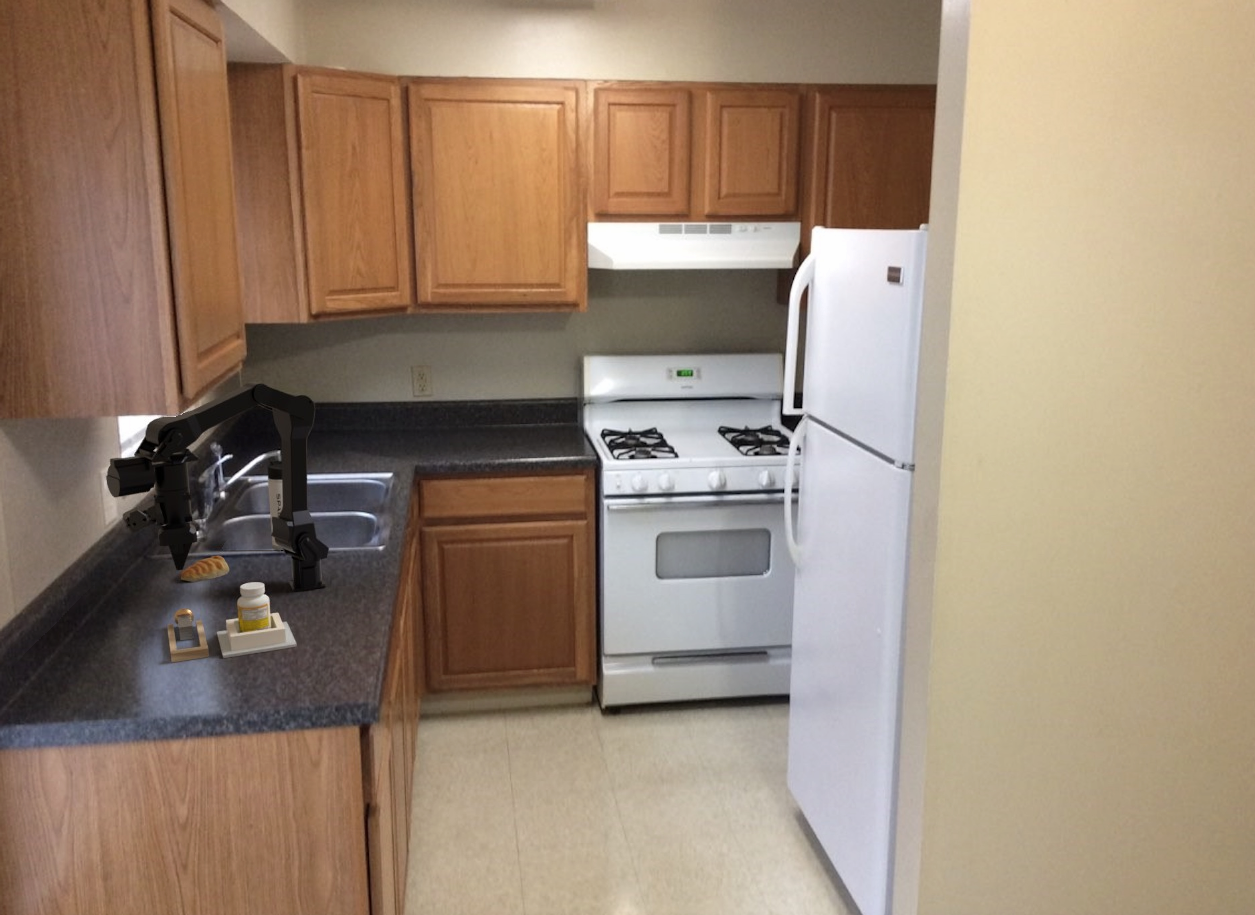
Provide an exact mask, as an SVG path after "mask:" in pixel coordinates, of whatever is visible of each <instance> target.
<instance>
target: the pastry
mask: <svg viewBox="0 0 1255 915" xmlns="http://www.w3.org/2000/svg"><path fill="white" fill-rule="evenodd" d="M229 572H230V567H229V565H228V563H227V562H226V560H225V558H224V557H222V556H221V555H215V556H213V555H212V556H210V557H208V558H204V559H202V558H201V559H200V560H199V559H198V560H197V561H195V562H194V563H193V564H191V565H189V566H187V568H185V569H184V570H181V574H180V580H182V581H187V582H191V583H193V582H194V583H195V582H196V583H197V582H201V581H208V580H211V579H214V578H215V579H216V578H219V577H222V576H226V575H228V573H229Z"/></svg>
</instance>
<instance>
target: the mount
mask: <svg viewBox="0 0 1255 915" xmlns="http://www.w3.org/2000/svg"><path fill="white" fill-rule="evenodd" d="M195 625H196V626H195V627H196V631H197V636H198V642H199V646H193V647H189V648H181V649H178V648H177V642H176V640H177V639H176V634H175V627H174V624H173V623H172V624H167V626H166V627H167V636H168V642H169V643H168V644H169V650H170V659H171V663H177V662H183V661H190V660H196V659H197V660H198V659H204V658H209V657H210V652H209V651H210V650H209V645H208V643H207V637H206V634H205V628H204V625H203V619H200V620H199V619H198V620H195Z"/></svg>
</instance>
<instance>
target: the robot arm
mask: <svg viewBox="0 0 1255 915" xmlns="http://www.w3.org/2000/svg"><path fill="white" fill-rule="evenodd" d="M257 406H260V407H261V408H264V409H267V410H269V411H272V415H273V421H274V424H275V428H276V429H277V431H278V433H279V436H280V439H281V461H282V497H283V507H282V510H281V513H280V515H279V517H272V525H273V532H272V531H271V535H270V536H271V537H272V536H273V537H274V538H275V542H276V544H278V545H279V546H280V547H281V548H282V549H283V551H282V552H283V553H284V554H285V555H287V556H290V558H291V574H292V575H291V576H292V579H289V580H288V583H289V585H290V587H291V589H292V591H293V592H298V591H305V590H312V589H314V590H315V589H320V588H322V589H323V588H326V587H327V584H326V581H325V580H324V579H323V575H322V561H321V560H324V559H327V558H328V554H329V551H330V548H329V546H327V545H326V544H324V543H323V542H322V541H321V540H319V539H318V537H317V531H316V525H315V521H314V520H313V517H312V515H311V513H310V510H309V508H308V506H309V505H308V503H309V502H308V436H309V435H310V433H311V430H312V428H313V427H314V423H315V414H316V404H315V402H314V400H312V399H311V398H310V397H309V396H307V395H304V394H300V393H295V392H290V391H282V390H279V389H275V388H273V387H270V386H268V385H267V384H265V383H261V382H257V381H249V382H246V383H245V384H244V385H243V386H241V387H238V388H236V389H234V390H232V391H230V392H228V393H226V394H224V395H221V396H219V397H217V398H215V399H213V400H211V401H208V402H207V403H204V404H202V405H200V406H199V407H196V408H194V409H192V410H187V411H185V413H183V412H182V413H183V414H182V415H178V416H176V417H164V416H161V417H158V418H155V419H152V420H151V421H150V422H149V423H148V424H147V427H146V429H145V434H144V438H143V439H142V441H141V442H140V443H139V445H138V447H137V448H136V450H135V452H134V454H133V456H128V457H113V458H110V459H109V466H108V468H107V473H106V476H105V478H106V479H105V480H106V486H107V488H108V491H109V493H110V495H111V496H112V497H113V498H115V499H116V498H120V497H121V498H122V497H127V496H133V495H137V494H144V493H150V491H151V489H153V488H154V493H153V500H152V501H150V502H146V503H143V504H141V505H139V506H136V507H134V508H132V509H129V510H127V511H126V512H123V513H122V520H123V521H124V523H125V526H126V528H127V529H128V531H129V533H130V534H136V533H138V532H140V530H142V529H145V528H147V527H149V526H152V525H153V524H156V526H157V527H160V526H161V527H160V528H159V529H158V530H157V533H158V534H157V536H158V546H159V547H168V548H169V552H170V554H171V557H172V560H173V561H172V562H173V564H174V566H175V570H176V571H184V570H183V569H184V567H185V565H186V561H187V559H188V556H189V553H190V551H191V548H192V545H193V544H195V543H197V542H198V532H197V528H196V526H195V525H193V524H191V522H193V520H194V518H193V514H192V513H193V512H192V504H191V503H192V502H191V500H192V497H191V492H190V482H189V481H190V480H189V471H188V470H189V469H188V463H190V462H197V461H199V460H200V457H199V456H198V455H196V454H195V453H193V452H192V451H191V450H190V449H189V447H190V446H191V445H193V444H194V443H195V442H197V440H199V438H200V437H201V436H202V435H203V434H204V433H205V432H207V431H208V430H210V429H212V428H214V427H216V426H218V425H221V424H222V423H224V422H227V421H228V420H231V419H233V418H234V417H237V416H239V415H241V414H243V413H244V412H246V411H249V410H252V409H253V408H255V407H257ZM155 450H156V451H155Z"/></svg>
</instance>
